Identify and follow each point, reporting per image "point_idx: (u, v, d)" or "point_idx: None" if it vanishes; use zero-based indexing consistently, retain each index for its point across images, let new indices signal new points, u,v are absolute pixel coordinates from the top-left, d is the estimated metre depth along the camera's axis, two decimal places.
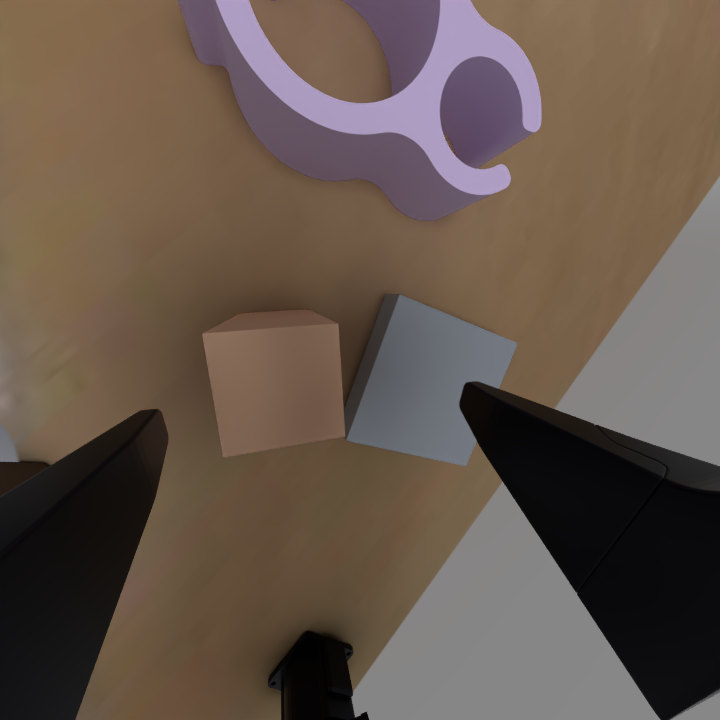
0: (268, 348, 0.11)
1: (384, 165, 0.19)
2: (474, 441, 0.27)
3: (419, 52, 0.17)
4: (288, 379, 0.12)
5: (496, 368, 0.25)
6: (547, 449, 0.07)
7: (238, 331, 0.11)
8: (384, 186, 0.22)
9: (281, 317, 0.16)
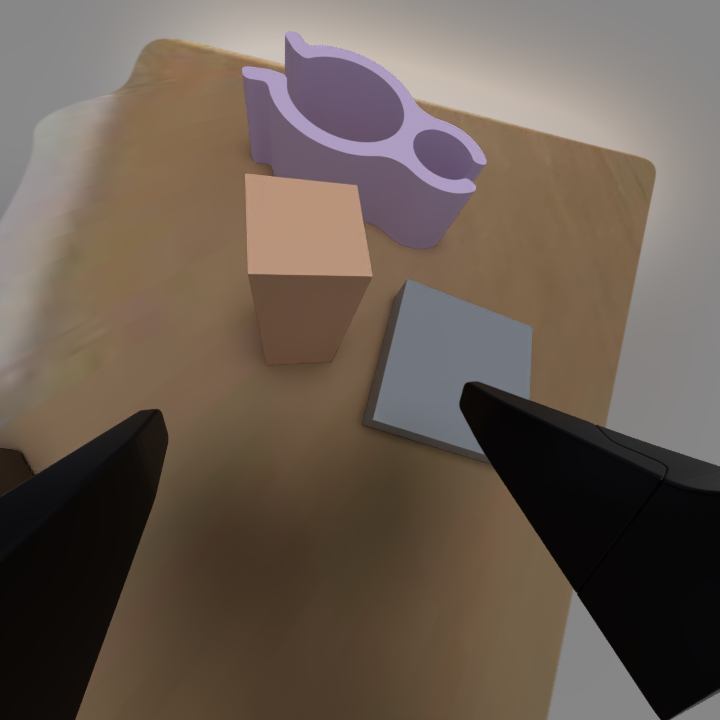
0: (298, 192, 0.13)
1: (380, 198, 0.26)
2: None
3: None
4: (315, 217, 0.13)
5: (519, 350, 0.25)
6: (547, 449, 0.07)
7: (274, 177, 0.13)
8: (382, 223, 0.28)
9: None
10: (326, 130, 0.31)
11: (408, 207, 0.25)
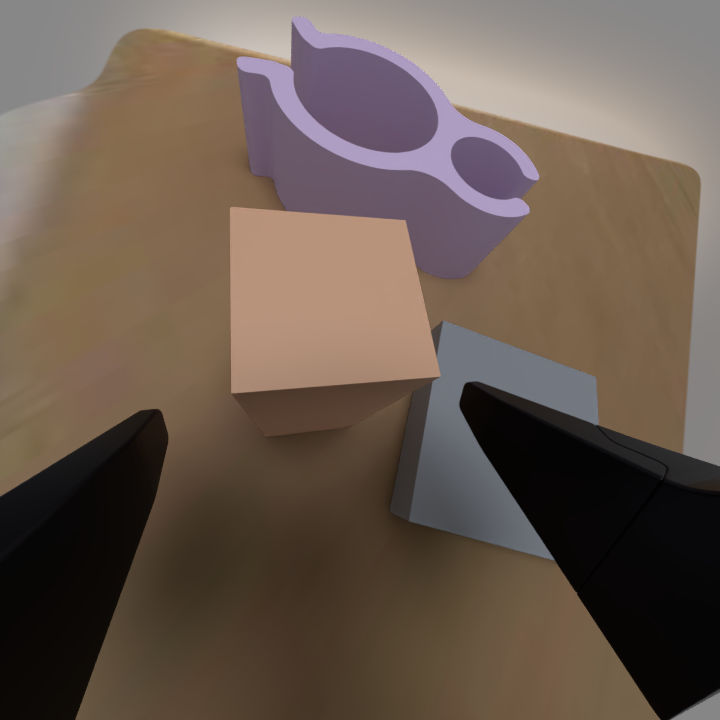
0: (317, 235, 0.08)
1: (406, 220, 0.21)
2: None
3: None
4: (345, 276, 0.08)
5: (584, 408, 0.20)
6: (547, 449, 0.07)
7: (278, 211, 0.08)
8: None
9: None
10: (339, 137, 0.26)
11: (442, 232, 0.20)
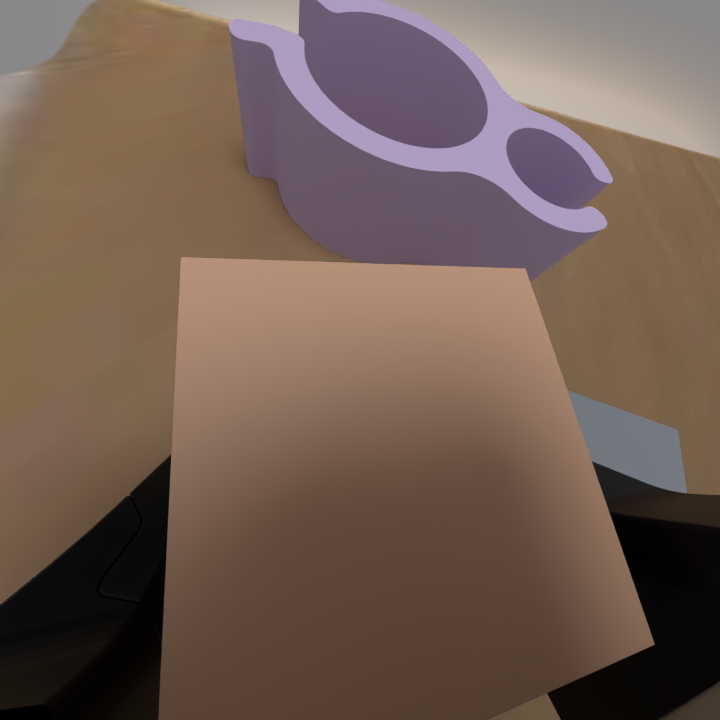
0: (369, 313, 0.04)
1: (443, 233, 0.17)
2: None
3: (464, 143, 0.18)
4: (432, 408, 0.04)
5: (668, 474, 0.15)
6: None
7: (288, 263, 0.04)
8: (438, 265, 0.19)
9: None
10: None
11: (490, 249, 0.16)
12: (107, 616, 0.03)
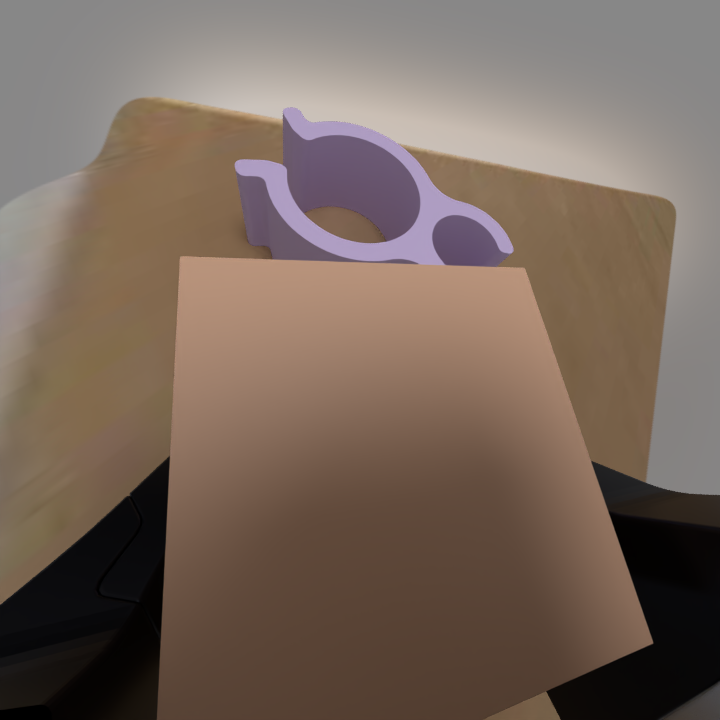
0: (368, 311, 0.04)
1: None
2: None
3: (409, 221, 0.24)
4: (431, 406, 0.04)
5: None
6: None
7: (286, 262, 0.04)
8: None
9: None
10: (329, 200, 0.28)
11: None
12: (108, 616, 0.03)
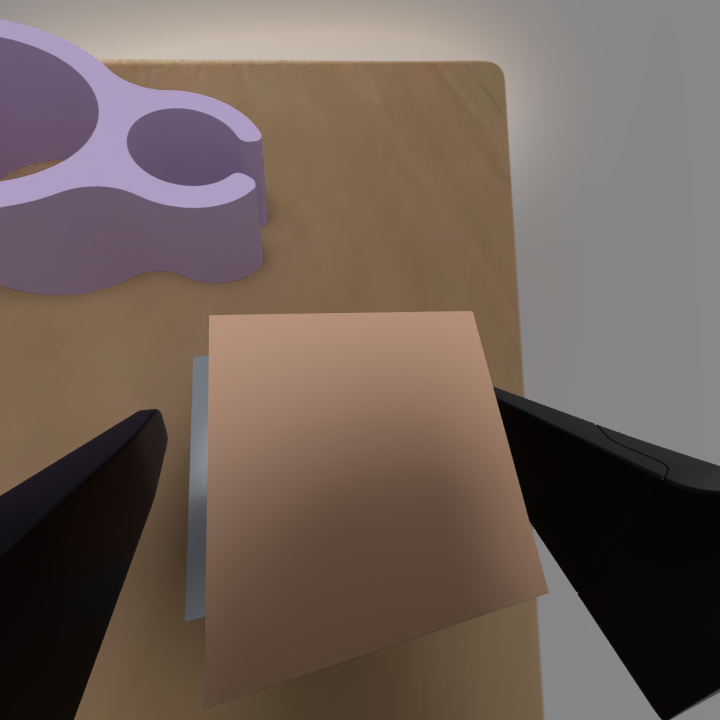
0: (347, 352, 0.05)
1: (135, 240, 0.17)
2: None
3: None
4: (392, 423, 0.05)
5: None
6: (548, 449, 0.07)
7: (286, 315, 0.05)
8: (169, 266, 0.20)
9: None
10: (27, 153, 0.20)
11: (178, 241, 0.17)
12: None
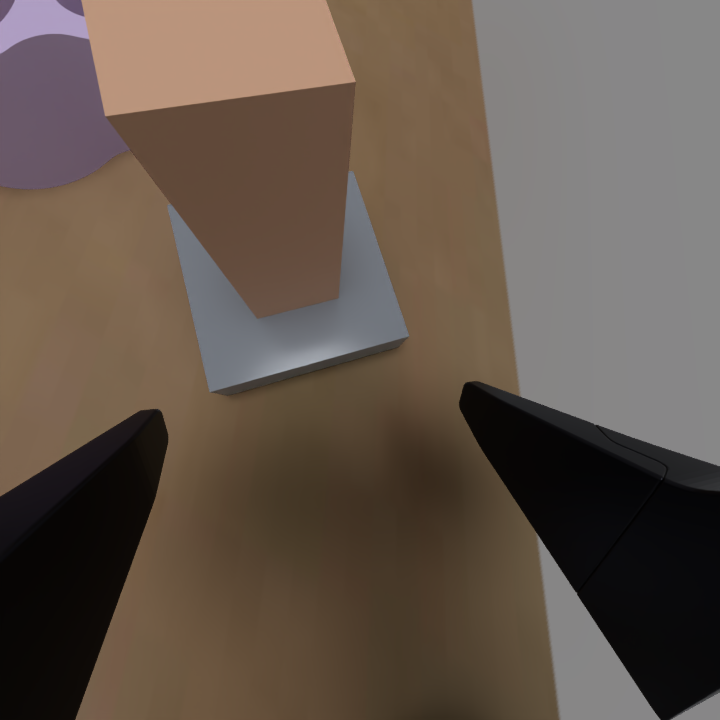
0: None
1: (96, 108, 0.19)
2: (393, 300, 0.18)
3: None
4: None
5: (348, 208, 0.19)
6: (547, 449, 0.07)
7: None
8: None
9: None
10: None
11: None
12: None
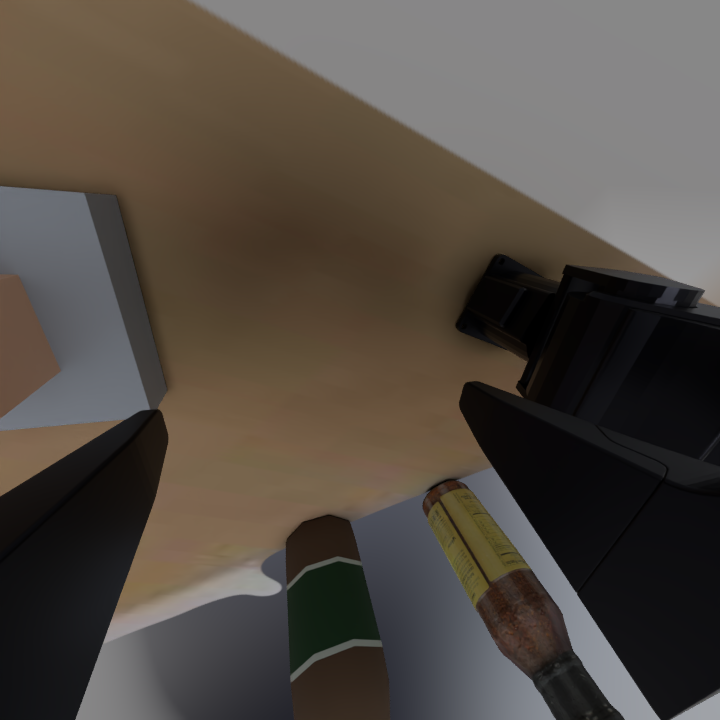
0: None
1: None
2: (13, 192, 0.12)
3: None
4: None
5: None
6: (547, 449, 0.07)
7: None
8: None
9: None
10: None
11: None
12: None
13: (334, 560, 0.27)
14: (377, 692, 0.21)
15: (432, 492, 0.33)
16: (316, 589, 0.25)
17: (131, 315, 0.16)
